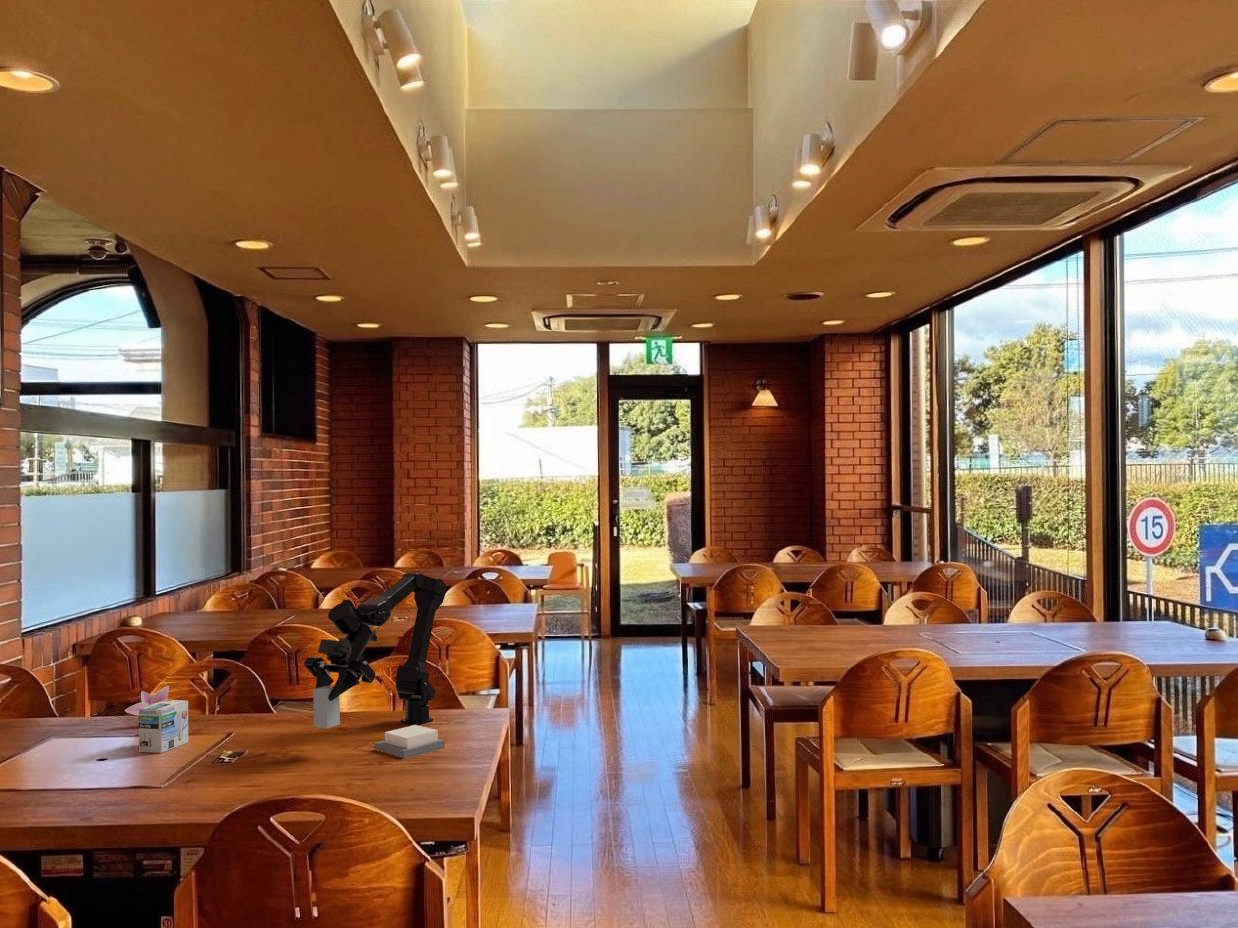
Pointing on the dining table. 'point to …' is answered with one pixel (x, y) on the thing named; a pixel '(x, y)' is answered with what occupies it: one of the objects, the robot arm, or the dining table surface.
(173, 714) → the light bulb box
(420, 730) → the off-white top slab
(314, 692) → the slate block
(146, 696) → the lily
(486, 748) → the dining table surface
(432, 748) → the square tray
